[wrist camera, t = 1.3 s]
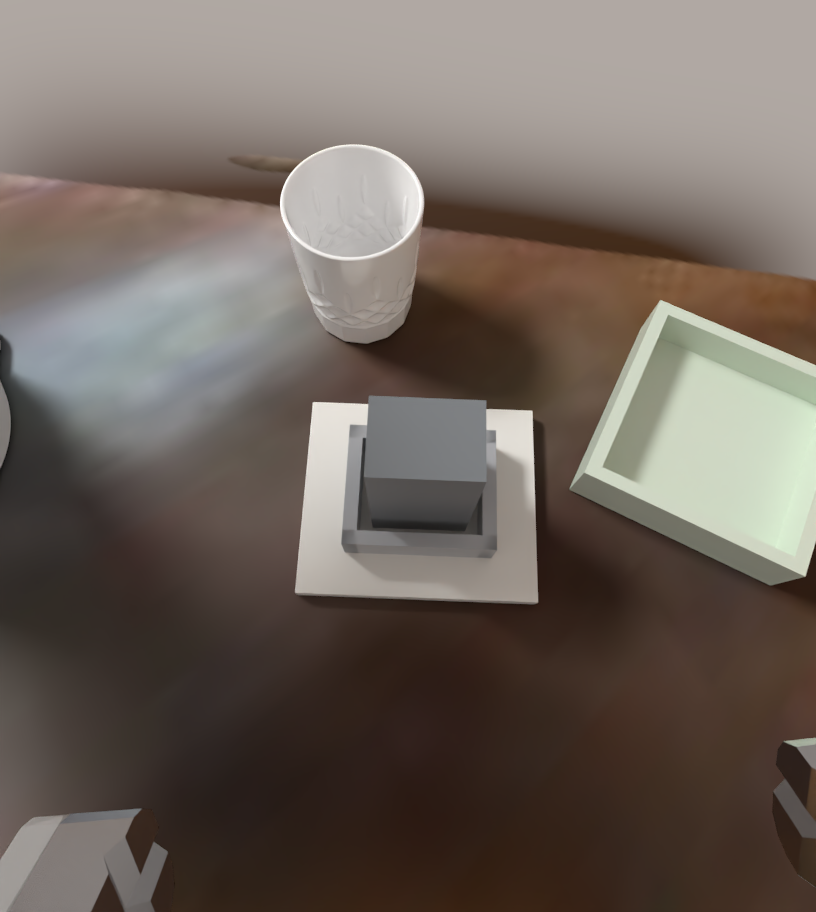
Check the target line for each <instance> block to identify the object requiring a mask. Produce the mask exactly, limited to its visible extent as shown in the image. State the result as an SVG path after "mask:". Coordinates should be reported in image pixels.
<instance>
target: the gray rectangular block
mask: <svg viewBox="0 0 816 912" xmlns="http://www.w3.org/2000/svg"><path fill="white" fill-rule="evenodd" d="M364 482H365V487H366V493H367V499H368V504H369V510H370V516H371V521H372V527H373V528H395V529H420V530H445V531H465V530H466V528H467V525H468V523H469V521H470V518H471V516H472V514H473V512H474V509H475V507H476V505H477V503H478V500H479V498H480V496H481V494H482V491H483V489H484V487H485V484H486V482H487V466H486V400H463V399H438V398H413V397H387V396H369V402H368V418H367V434H366V449H365V465H364Z"/></svg>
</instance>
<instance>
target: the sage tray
mask: <svg viewBox="0 0 816 912" xmlns="http://www.w3.org/2000/svg"><path fill="white" fill-rule="evenodd" d="M569 490H571V491H573V492H575V493H577V494H579V495H581V496H583V497H585V498H588V499H590V500H592V501H594V502H596V503H598V504H600V505H602V506H604V507H606V508H609V509H611V510H613V511H615V512H617V513H619V514H621V515H623V516H625V517H627V518H629V519H632V520H634V521H636V522H638V523H640V524H642V525H644V526H646V527H648V528H650V529H653V530H655V531H657V532H659V533H661V534H663V535H665V536H667V537H669V538H671V539H673V540H676V541H678V542H680V543H682V544H684V545H686V546H688V547H690V548H692V549H694V550H697V551H699V552H701V553H703V554H705V555H707V556H709V557H711V558H713V559H715V560H717V561H720V562H722V563H724V564H726V565H728V566H730V567H732V568H734V569H736V570H738V571H741V572H743V573H745V574H747V575H749V576H751V577H753V578H755V579H757V580H759V581H761V582H764V583H766V584H768V585H774V584H778V583H782V582H786V581H790V580H794V579H798V578H802V577H805V576H806V573H807V569H808V566H809V563H810V559H811V556H812V553H813V549H814V546H815V543H816V366H815V365H813V364H811V363H808V362H806V361H804V360H801V359H799V358H797V357H794V356H792V355H789V354H787V353H785V352H782V351H780V350H778V349H775V348H773V347H770V346H768V345H766V344H763V343H761V342H759V341H756V340H754V339H752V338H749V337H747V336H744V335H742V334H740V333H737V332H735V331H733V330H730V329H728V328H726V327H723V326H721V325H718V324H716V323H714V322H711V321H709V320H707V319H704V318H702V317H699V316H697V315H695V314H692V313H690V312H688V311H685V310H683V309H681V308H678V307H676V306H673V305H671V304H669V303H666V302H664V301H662V300H660V301H659V303H658V304H657V306H656V307H655V309H654V310H653V312H652V313H651V314H650V316H649V317H648V319H647V320H646V322H645V323H644V325H643V326H642V328H641V329H640V331H639V334H638V336H637V338H636V340H635V343H634V345H633V347H632V349H631V352H630V354H629V356H628V358H627V361H626V363H625V365H624V367H623V370H622V372H621V374H620V376H619V379H618V381H617V383H616V385H615V388H614V390H613V392H612V394H611V397H610V399H609V401H608V403H607V405H606V408H605V410H604V412H603V414H602V417H601V419H600V421H599V423H598V426H597V428H596V430H595V432H594V435H593V437H592V439H591V441H590V444H589V446H588V448H587V450H586V453H585V455H584V457H583V459H582V462H581V464H580V466H579V468H578V471H577V473H576V475H575V477H574V480H573V482H572V484H571V486H570V489H569Z"/></svg>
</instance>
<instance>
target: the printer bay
mask: <svg viewBox="0 0 816 912" xmlns="http://www.w3.org/2000/svg"><path fill="white" fill-rule="evenodd" d="M367 418H368V404H349V403H323V402H313V408H312V419H311V429H310V440H309V450H308V461H307V471H306V482H305V492H304V503H303V513H302V524H301V534H300V545H299V555H298V566H297V576H296V587H295V593H296V594H297V595H310V596H335V597H360V598H385V599H410V600H436V601H461V602H486V603H511V604H536V603H538V581H537V548H536V514H535V481H534V448H533V414H532V411H525V410H500V409H486V466H487V482H486V484H485V487H484V489H483V491H482V494H481V496H480V498H479V500H478V503H477V505H476V507H475V509H474V512H473V514H472V516H471V518H470V521H469V523H468V525H467V528H466V530H465V531H445V530H420V529H395V528H373V527H372V521H371V516H370V510H369V504H368V499H367V493H366V487H365V482H364V465H365V449H366V434H367Z"/></svg>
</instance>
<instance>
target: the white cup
mask: <svg viewBox="0 0 816 912" xmlns="http://www.w3.org/2000/svg"><path fill="white" fill-rule="evenodd" d="M280 209H281V215H282V219H283V222H284V225H285V228H286V231H287V234H288V237H289V240H290V243H291V246H292V250H293V253H294V256H295V259H296V262H297V266H298V269H299V271H300V274H301V277H302V279H303V282H304V285H305V288H306V291H307V293H308V295H309V297H310V299H311V302H312V305H313V309H314V312H315V314H316V316H317V317H318V319H319V321H320V322H321V324H322V325H323V327H324V328H325V330H326V331H328V332H329V333H331V334H333V335H335V336H336V337H338V338H340V339H342V340H343V341H346V342H355V343H365V344H367V343H371V342H374V341H377V340H381V339H384V338H387V337H389V336H390V335H391V334H392V333H393V332H395V331H396V330H397V329H398V328H399V327H400V326H402V325H403V324H404V321H405V319H406V316H407V314H408V311H409V309H410V307H411V300H412V291H413V287H414V283H415V277H416V268H417V263H418V255H419V246H420V237H421V228H422V219H423V210H424V194H423V190H422V186H421V184H420V181H419V179H418V178H417V176H416V174H415V173H414V172H413V170H412V169H411V168H410V167H409V166H408V165H407V164H406V163H405V162H404V161H403V160H401V159H400V158H398V157H396V156H395V155H393V154H392V153H389V152H387V151H385V150H382V149H379V148H376V147H372V146H367V145H341V146H335V147H331V148H327V149H324V150H322V151H319V152H317V153H315V154H313V155H311V156H310V157H308V158H307V159H305V160H304V161H302V162H301V163H300V164H299V165H298V166H297V167H296V168H295V169H294V170H293V171H292V172H291V174H290V175H289V177H288V178H287V180H286V182H285V184H284V187H283V189H282V193H281V199H280Z"/></svg>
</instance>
